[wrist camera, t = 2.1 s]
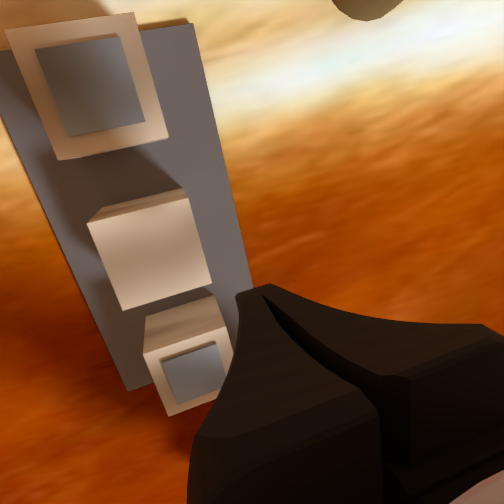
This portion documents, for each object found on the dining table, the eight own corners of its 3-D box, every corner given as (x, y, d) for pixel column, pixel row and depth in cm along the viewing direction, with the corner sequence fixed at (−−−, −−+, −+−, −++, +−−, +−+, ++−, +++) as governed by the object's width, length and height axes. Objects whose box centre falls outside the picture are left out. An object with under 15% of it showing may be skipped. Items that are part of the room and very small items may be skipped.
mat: (264, 339, 23) (265, 342, 23) (128, 387, 22) (127, 391, 21) (192, 26, 16) (192, 23, 16) (-22, 57, 14) (-27, 55, 14)
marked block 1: (166, 139, 17) (169, 136, 13) (80, 157, 16) (56, 160, 12) (140, 44, 15) (133, 9, 12) (42, 59, 15) (0, 27, 11)
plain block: (202, 258, 20) (212, 283, 16) (129, 279, 19) (122, 310, 15) (182, 187, 18) (188, 197, 14) (102, 207, 17) (86, 223, 14)
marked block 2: (229, 348, 22) (244, 390, 18) (167, 371, 21) (168, 419, 18) (214, 294, 21) (226, 328, 17) (145, 316, 20) (142, 356, 16)
